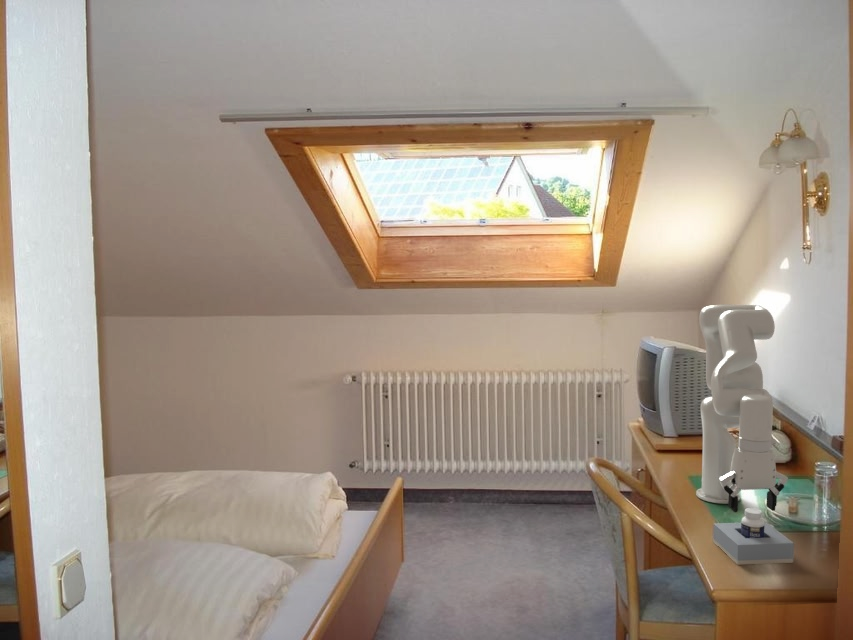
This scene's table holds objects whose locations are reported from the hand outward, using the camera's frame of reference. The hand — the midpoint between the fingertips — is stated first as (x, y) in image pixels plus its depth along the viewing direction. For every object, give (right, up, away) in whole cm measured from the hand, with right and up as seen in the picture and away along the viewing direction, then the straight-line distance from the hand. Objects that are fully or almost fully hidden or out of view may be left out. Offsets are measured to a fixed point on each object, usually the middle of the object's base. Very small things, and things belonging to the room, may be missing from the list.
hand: (752, 509), depth 189 cm
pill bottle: (0, -10, 0) cm, 10 cm away
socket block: (0, -11, 0) cm, 11 cm away
